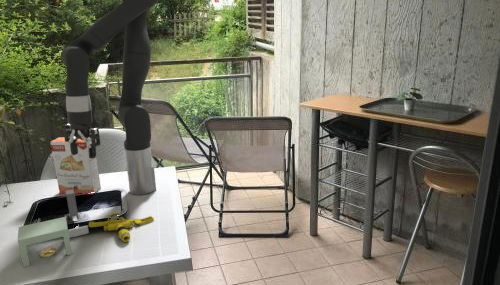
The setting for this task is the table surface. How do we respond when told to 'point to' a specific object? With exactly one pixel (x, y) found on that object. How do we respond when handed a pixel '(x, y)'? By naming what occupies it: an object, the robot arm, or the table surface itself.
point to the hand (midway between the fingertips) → (83, 156)
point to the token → (47, 252)
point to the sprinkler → (120, 225)
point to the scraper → (74, 215)
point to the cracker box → (75, 167)
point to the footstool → (42, 235)
